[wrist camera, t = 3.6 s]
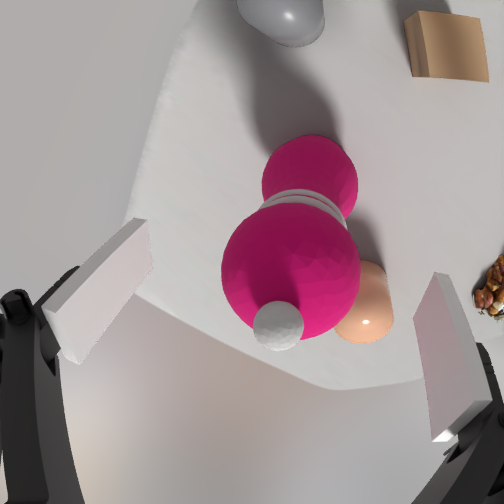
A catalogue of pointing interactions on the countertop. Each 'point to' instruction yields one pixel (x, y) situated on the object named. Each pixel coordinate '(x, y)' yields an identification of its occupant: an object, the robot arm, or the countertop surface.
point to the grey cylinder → (285, 19)
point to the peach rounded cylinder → (368, 308)
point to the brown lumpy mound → (492, 292)
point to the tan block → (446, 46)
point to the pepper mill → (296, 246)
